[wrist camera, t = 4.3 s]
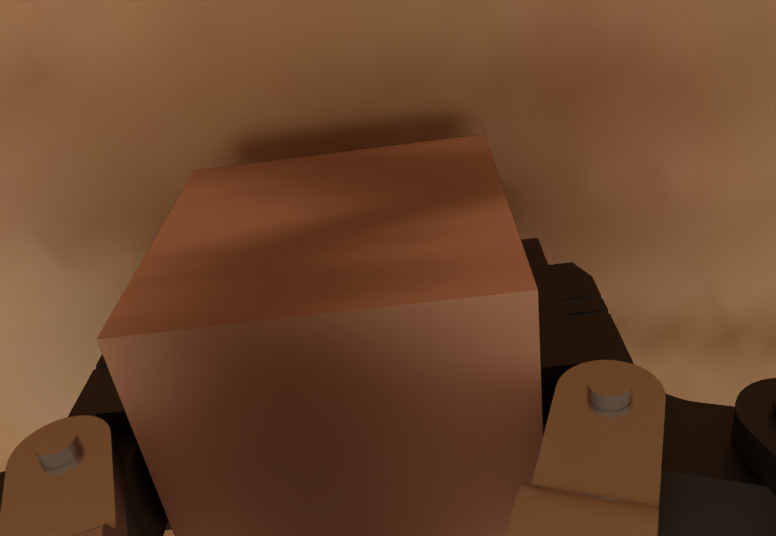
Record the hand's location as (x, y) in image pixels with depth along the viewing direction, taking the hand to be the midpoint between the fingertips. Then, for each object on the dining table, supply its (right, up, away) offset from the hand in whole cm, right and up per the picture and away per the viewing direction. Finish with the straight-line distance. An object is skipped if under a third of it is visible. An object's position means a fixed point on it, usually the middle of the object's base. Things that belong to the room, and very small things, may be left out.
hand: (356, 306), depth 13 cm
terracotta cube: (0, +1, +1) cm, 1 cm away
